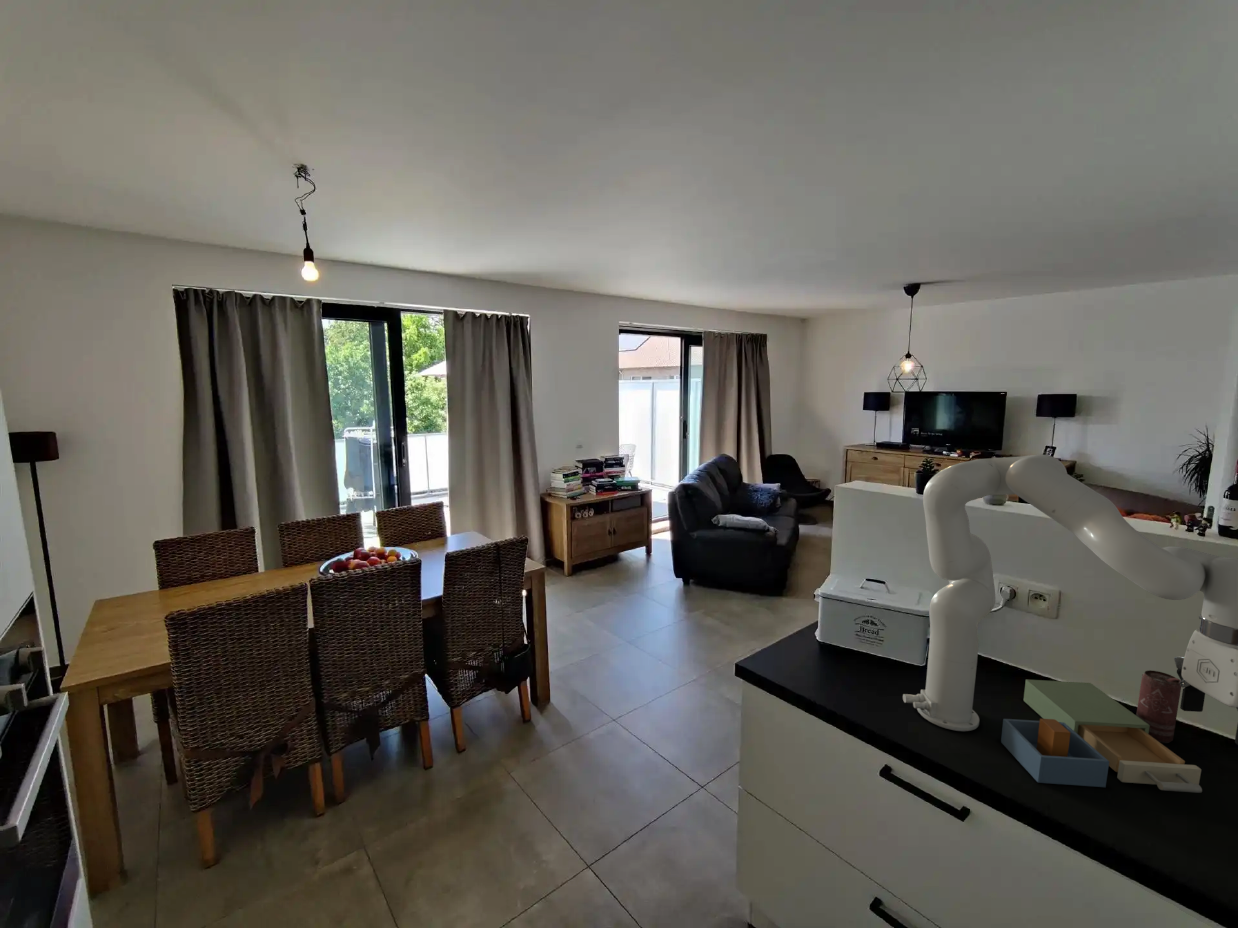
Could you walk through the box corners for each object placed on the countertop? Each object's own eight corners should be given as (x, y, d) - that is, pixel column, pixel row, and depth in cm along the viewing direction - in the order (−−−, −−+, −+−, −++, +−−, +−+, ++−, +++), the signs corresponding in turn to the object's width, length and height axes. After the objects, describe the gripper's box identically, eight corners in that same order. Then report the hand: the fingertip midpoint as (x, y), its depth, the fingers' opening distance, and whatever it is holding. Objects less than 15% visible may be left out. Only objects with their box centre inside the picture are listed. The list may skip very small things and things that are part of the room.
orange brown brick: (1049, 767, 108) (1054, 731, 107) (1035, 753, 113) (1039, 718, 112) (1066, 769, 108) (1070, 732, 107) (1051, 754, 112) (1055, 719, 111)
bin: (1037, 782, 105) (1041, 756, 104) (1000, 741, 117) (1003, 718, 116) (1105, 787, 104) (1109, 761, 103) (1061, 745, 116) (1064, 722, 115)
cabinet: (1146, 749, 115) (1149, 725, 114) (1072, 744, 116) (1075, 720, 115) (1087, 704, 131) (1090, 682, 130) (1023, 700, 133) (1025, 679, 132)
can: (1181, 745, 116) (1191, 685, 114) (1147, 742, 117) (1156, 682, 115) (1160, 728, 122) (1169, 670, 120) (1127, 725, 123) (1135, 667, 121)
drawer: (1221, 804, 98) (1224, 785, 98) (1140, 798, 100) (1143, 780, 99) (1130, 735, 118) (1133, 719, 117) (1064, 731, 119) (1066, 715, 119)
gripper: (1161, 610, 99) (1149, 697, 101) (1263, 656, 82) (1245, 759, 84) (1207, 612, 98) (1193, 699, 101) (1318, 659, 81) (1299, 762, 84)
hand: (1217, 726), depth 92 cm, fingers open, 9 cm apart
